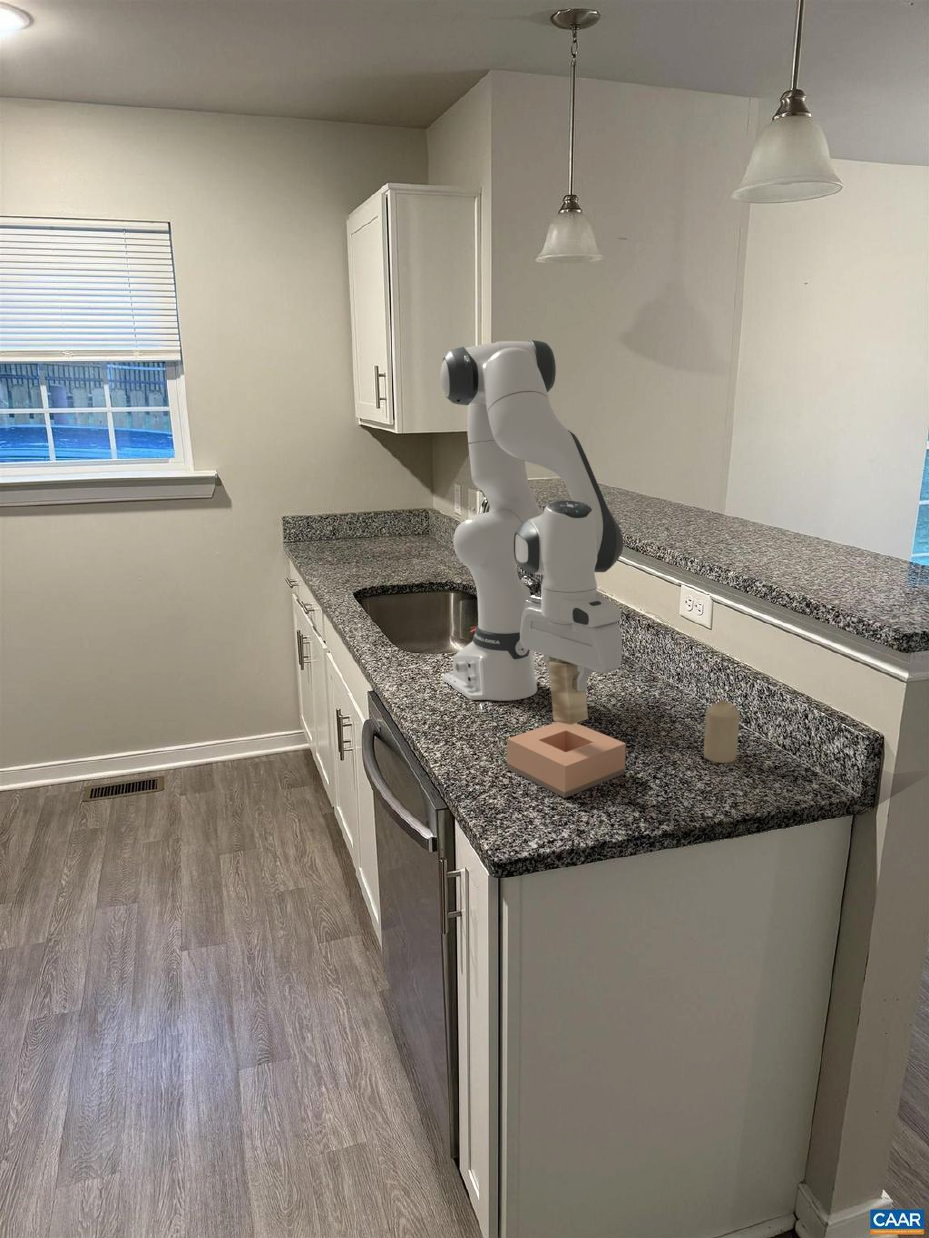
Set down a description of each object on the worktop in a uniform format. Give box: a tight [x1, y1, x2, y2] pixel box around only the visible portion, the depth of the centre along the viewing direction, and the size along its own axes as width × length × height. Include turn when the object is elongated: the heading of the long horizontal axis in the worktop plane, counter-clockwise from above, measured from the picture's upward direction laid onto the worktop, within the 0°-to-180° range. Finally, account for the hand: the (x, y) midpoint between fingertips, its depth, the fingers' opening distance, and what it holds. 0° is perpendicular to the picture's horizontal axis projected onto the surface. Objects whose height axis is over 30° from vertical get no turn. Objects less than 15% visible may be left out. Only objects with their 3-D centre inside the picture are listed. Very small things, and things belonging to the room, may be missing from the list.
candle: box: [703, 700, 741, 764], centre depth 146 cm, size 6×6×10 cm
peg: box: [548, 659, 589, 725], centre depth 138 cm, size 4×4×10 cm
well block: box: [506, 721, 627, 799], centre depth 142 cm, size 14×14×6 cm
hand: (567, 685), depth 138 cm, fingers closed on peg, 4 cm apart
